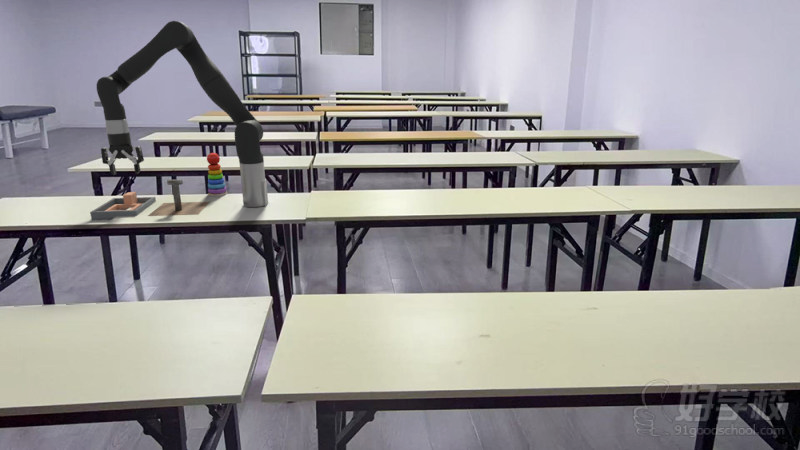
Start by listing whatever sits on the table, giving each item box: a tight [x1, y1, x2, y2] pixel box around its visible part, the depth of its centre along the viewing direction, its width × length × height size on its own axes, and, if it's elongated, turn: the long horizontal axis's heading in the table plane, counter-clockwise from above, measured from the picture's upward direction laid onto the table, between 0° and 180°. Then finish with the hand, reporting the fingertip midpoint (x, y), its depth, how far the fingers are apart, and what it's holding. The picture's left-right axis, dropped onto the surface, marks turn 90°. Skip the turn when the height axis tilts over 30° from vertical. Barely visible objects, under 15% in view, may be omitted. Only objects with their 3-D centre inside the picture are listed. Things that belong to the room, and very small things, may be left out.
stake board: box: [147, 178, 211, 217], centre depth 197 cm, size 18×18×13 cm
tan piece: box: [105, 191, 143, 211], centre depth 199 cm, size 10×15×5 cm, turn 6°
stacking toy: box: [206, 152, 228, 197], centre depth 218 cm, size 8×8×19 cm
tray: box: [89, 196, 157, 221], centre depth 198 cm, size 16×20×3 cm
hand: (125, 173), depth 200 cm, fingers open, 8 cm apart
